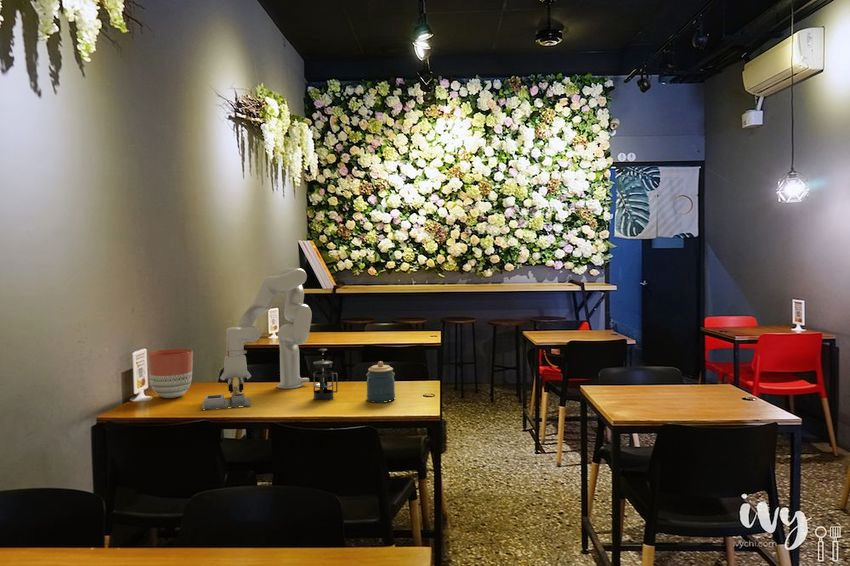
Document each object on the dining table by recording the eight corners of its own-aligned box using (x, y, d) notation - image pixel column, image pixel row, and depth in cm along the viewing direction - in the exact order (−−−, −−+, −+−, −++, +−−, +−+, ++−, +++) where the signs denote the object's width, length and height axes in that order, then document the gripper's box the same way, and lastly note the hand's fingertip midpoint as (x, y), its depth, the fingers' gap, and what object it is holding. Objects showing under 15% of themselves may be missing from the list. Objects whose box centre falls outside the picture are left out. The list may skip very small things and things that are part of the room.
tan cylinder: (240, 395, 275) (240, 374, 275) (240, 397, 272) (240, 376, 271) (231, 396, 274) (231, 375, 274) (231, 397, 270) (231, 376, 270)
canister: (391, 403, 257) (390, 364, 256) (363, 402, 259) (362, 363, 259) (398, 396, 270) (397, 359, 269) (371, 395, 272) (370, 358, 271)
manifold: (249, 399, 267) (249, 390, 267) (250, 406, 254) (250, 397, 254) (203, 403, 261) (203, 394, 261) (201, 410, 248) (201, 401, 248)
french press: (309, 401, 263) (308, 350, 262) (314, 396, 273) (313, 347, 272) (335, 401, 263) (334, 350, 262) (339, 396, 272) (338, 347, 271)
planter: (162, 404, 260) (161, 356, 259) (141, 398, 272) (139, 352, 271) (202, 395, 275) (201, 350, 275) (180, 390, 287) (178, 347, 286)
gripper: (253, 351, 278) (254, 389, 279) (216, 353, 273) (217, 391, 274) (253, 353, 271) (254, 392, 272) (216, 355, 266) (216, 395, 267)
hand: (236, 391), depth 273 cm, fingers closed on tan cylinder, 4 cm apart
